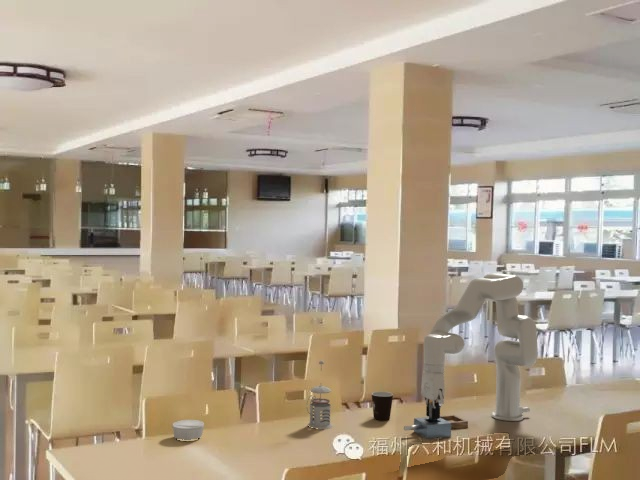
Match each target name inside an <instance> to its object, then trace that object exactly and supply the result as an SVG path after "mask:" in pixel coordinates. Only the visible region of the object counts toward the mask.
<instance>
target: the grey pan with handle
mask: <svg viewBox="0 0 640 480" xmlns="http://www.w3.org/2000/svg"><path fill="white" fill-rule="evenodd" d="M403 430H404V431H406V432H407V431H413V432H415V433H416V434H417V435H419V436H421V437H423V438H425V439H427V440H428V439H429V440H430V439H438V438H437V437H441V438H449V437H450V436H451V437H452V429H451V423H450V422H448V421H446V420H444V419H442V418H439V419H437V422H433V423H430V422H429V416H425V417H414V418H413V424H412V425H405V426H403ZM451 437H450V438H451Z"/></svg>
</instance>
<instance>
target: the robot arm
mask: <svg viewBox="0 0 640 480" xmlns="http://www.w3.org/2000/svg"><path fill="white" fill-rule="evenodd" d="M523 290H524V282H523V280H522V278H521V277H520V276H519V275H515V274H505V273H488V274H486V275H484V276H483V277H479V278H477V277H476V278H473V279H471V281H469V283H468V285H467V287H466V289H465V290H464V292H463V294H462V296H461V298H460V299H459V301H458V302H457V304H456V306H455V307H454V308H452V309H451V310H449V311H447V312H446V313H445V314H444V315H443V316H441V317H440V318H438V320H437V321H436V323H435V324H434V325H433V327H432V329H431V331H430V333H429V334H426V335H425V336H424V338H423V339H424V340H423V371H422V375H421V376H422V377H421V389H420V395H421V396H422V397H423V398H424V400H425V405H426V407H425V408H426V413H425V415H426V416H425V417H429V400H432V401H433V408H432V419H439V418H440V416H441V408H442V405H443V404H444V403H445V402H444V401H445V393H446V389H445V388H446V387H445V375H444V374H445V354H449V355H450V354H452V355H456V354H458V353H461V352H462V350H463V349H464V348H465V340H464V339H463V337H462V336H461V335H459V334H456V333H452V332H450V331H451V330H452V329H453V328H454V327H457V326H459V325H461V324H466V323H469V322H471V321H473V320H475V319H476V318H477V316H478V314H479V312H480V311H481V309H482V307H483V305H484V303H485V302H486V301H489V302H495V306H496V324H497V332H498V334H499V335H500V336H502V337H506V338H511V339H515V340H511V339H502V340H499V341H497V343H495V344H496V345H495V346H494V351H493V352H494V359H495V365H496V380H495V381H496V383H495V411H492V412H491V417H492V418H494V419H496V420H499V421H505V422H518V421H523V420H524V417H525V416H524V413H529V412H530V411H531V410H530V407H529V406H525V407H523V406H521V381H522V380H521V379H522V378H521V371H520V368H519V367H525V368H531V367H533V366H534V365H536V362H537V359H538V331H537V330H538V329H537V325H536V322H535V321H534V319H533V318H532V317H530V316H527V315H520V313H519V304H518V300H517V297H518V296H520V295H521V294H522V292H523ZM516 339H517V340H518V341H517V340H516ZM437 398H438V399H437ZM436 401H438V402H436ZM435 402H436V403H435Z"/></svg>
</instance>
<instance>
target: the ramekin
mask: <svg viewBox="0 0 640 480" xmlns="http://www.w3.org/2000/svg"><path fill="white" fill-rule="evenodd" d="M204 426H205V423H204V421H202V420H198V419H181V420H178V421H175V422H173V423H172V425H171V427H172V432H173V437H174V439H175V438H177V439H182V440H183V439H184V440H191V439H197V438H200V437H201V436H202V437H203V433H204V432H203V431H204ZM202 437H201V438H202ZM201 438H200V439H201Z"/></svg>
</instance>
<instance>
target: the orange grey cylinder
mask: <svg viewBox="0 0 640 480" xmlns="http://www.w3.org/2000/svg"><path fill="white" fill-rule="evenodd" d="M437 399H438V398H437ZM436 402H438V401H436ZM436 402H435V403H436ZM432 408H433V401H432V400H429V416H428V417H429V422H430V423H433V422H437V419H432Z"/></svg>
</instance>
